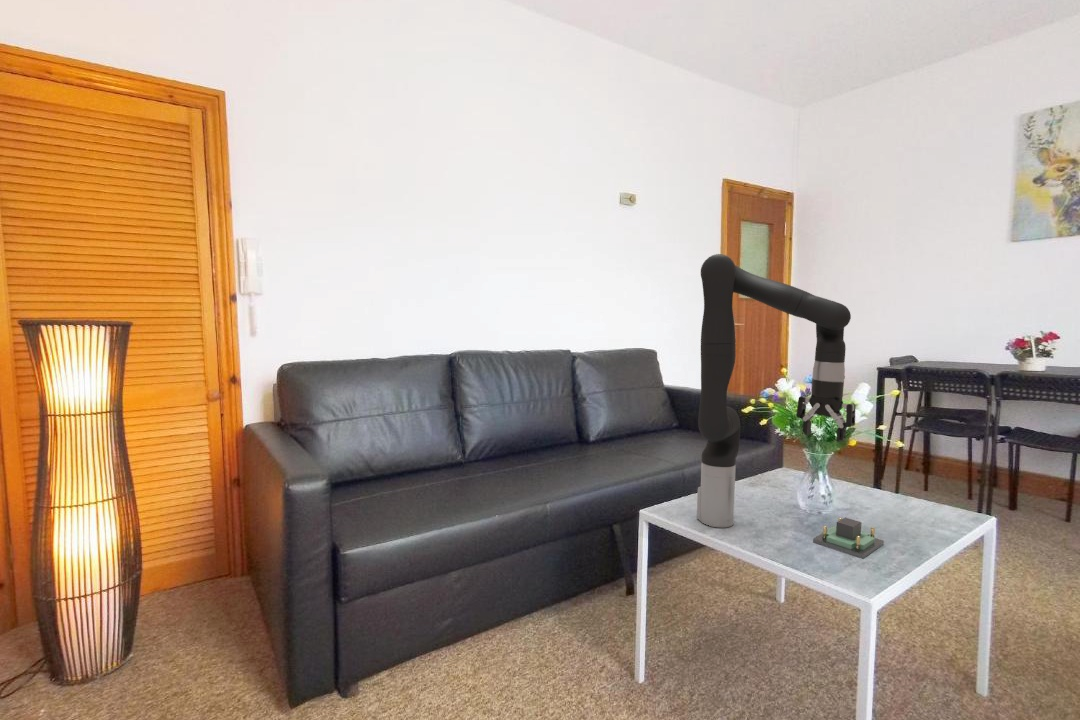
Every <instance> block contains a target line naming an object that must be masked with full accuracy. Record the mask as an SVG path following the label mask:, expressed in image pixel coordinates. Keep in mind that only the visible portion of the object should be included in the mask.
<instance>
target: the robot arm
mask: <svg viewBox="0 0 1080 720" xmlns="http://www.w3.org/2000/svg"><path fill="white" fill-rule="evenodd" d="M700 277H701V283H702V292H703V293H702V294H703V315H702V323H701V330H700V331H701V332H700V333H701V334H700V399H699V409H698V417H697V419H698V421H697V424H698V425H697V427H698V431H699V432H700V434H701V436H702V437H703V438H704V440H705V441H707V443H706V445H705V447H704V449H703V451H702V452H701V467H700V469H701V470H700V486H698V487H697V493H696V495H697V497H696V498H697V500H696V501H697V503H696V520H698V519H699V520H698V521H700V523H702V524H703V523H704V524H703V525H705V524H706V526H708V525H709V526H710V527H712V528H729V527H732V526H733V525H734V519H735V515H734V514H735V497H736V496H735V495H736V494H735V490H736V467H737V466H736V465H737V464H736V461H737V457H738V454H739V451H740V439H741V438H740V436H741V420H740V417H739V414H738V413H737V411H736V410H735V409H734V408H732V407H731V406H728V403H727V400H728V399H727V398H728V397H727V396H728V388H729V384H730V381H731V379H732V378H731V377H732V375H733V371H734V369H735V368H734V367H735V363H736V343H737V342H736V341H737V340H736V329H735V328H736V327H735V319H734V312H733V309H734V308H733V299H734V298H733V297H734V293H735V294H738V295H742V296H745V297H748V298H751V299H752V300H755V301H758V302H759V303H762V304H764V305H767V306H768V307H771V308H772V309H775V310H777V311H781V312H782V313H786V314H789V315H791V316H792V317H797V318H801V319H804V320H807V321H809V322H812V323H814V324H815V334H816V346H815V351H814V352H815V353H814V354H815V355H814V364H813V368H812V379H811V389H810V390H811V391H810V394H811V396H810V397H807V396H806V395H802V396H798V401H797V409H796V418H798V419H801V420H802V432H803V434H804V435H805V436H810V435H811V432H812V431H811V430H812V421H811V420H812V419H813V418H814V417H815V416H816V415H817V416H821V417H822V416H824V417H826V418H832V420H833V421H834V422H835V423H836V424H837V426H838V427H837V432H836V442H838V443H841V442H843V441H844V440H846V435H847V434H846V433H847V429H848V428H851V427H854V426H855V425H856V404H855V403H844V401H843V397H844V386H845V379H846V375H845V373H846V372H845V371H846V369H845V363H846V361H845V359H846V350H847V348H846V343H845V341H844V336H845V335H844V334H845V327H846V326H848V325H849V323H850V321H851V318H852V315H851V311H850V310H849V308H848V307H847V306H846V305H844V304H842V303H840V302H837V301H835V300H831V299H828V298H825V297H820V296H819V295H818V296H817V295H814V294H813V293H810V292H808V291H806V290H803V289H800V288H798V287H796V286H793V285H790V284H787V283H784V282H780V281H777V280H773V279H769V278H765V277H762V276H759V275H758V274H757V275H756V274H753V273H751V272H749V271H746V270H745V269H743V268H741V267H739V266H737V265H736V264H735V262H734V260H733V259H732V258H731V257H729V256H728V255H726V254H721V253H715V254H713V255H711V256H708V257H707V259H705V260H704V262H703V263H702V264H701V266H700ZM808 404H810V406H811V408H810V409H809V410H808V411H807V413H806V409H807V405H808ZM842 409H844V411H845V412H846V413H845V415H846V416H845V417H844V415H843V414H842V412H841V410H842Z"/></svg>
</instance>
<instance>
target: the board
mask: <svg viewBox="0 0 1080 720" xmlns="http://www.w3.org/2000/svg"><path fill="white" fill-rule="evenodd" d="M821 534H822V537H823V531H822V533H821ZM870 534H871V532H865V531H862V521H859V520H855V519H851V518H848V517H844V518H842V519H841V520H840V521H838V520H837V521H836V525H834V526H832V527H829V528H827V540H826V541H827V542H830V543H833V544H836V545H839V546H842V547H846V548H849V549H853V548H854V547H856V537H857V536H860V549H862V550H864V549H866V548H867V547H869V546H870V545H872V544H873V543H875V538H876V537H874V538H873V537H870Z"/></svg>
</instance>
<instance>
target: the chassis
mask: <svg viewBox="0 0 1080 720" xmlns="http://www.w3.org/2000/svg"><path fill="white" fill-rule="evenodd" d="M841 519H843V518H841V517H839V518H838V519H837V522H838V521H840V520H841ZM875 528H876V527H874V526H871V527H870V537H873V538H875V543H873V544H872V545H870V546H869V547H867V548H866V549H864V550H862V549H860V536H857V537H856V547H854V548H853V549H849V548H846V547H842V546H839V545H836V544H833V543H830V542H827V541H826V540H827V530H828V527H827V526H826V525H823V527H822V532H823V537H822V533H821V534H819V535H817V536H816V537H813V539H812V543H814V544H817V545H820V546H823V547H826V548H829V549H833V550H835V551H839V552H842V553H844V554H848V555H851V556H855V557H857V558H859V559H865V558H866V557H868V556H869V555H870V554H872V553H874V552H875V551H876V550H877V549H879V548H881V547H882V546H884V543H885V541H884V540H883V539H879V538H876V537H875V535H876V534H875V532H876V529H875Z"/></svg>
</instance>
